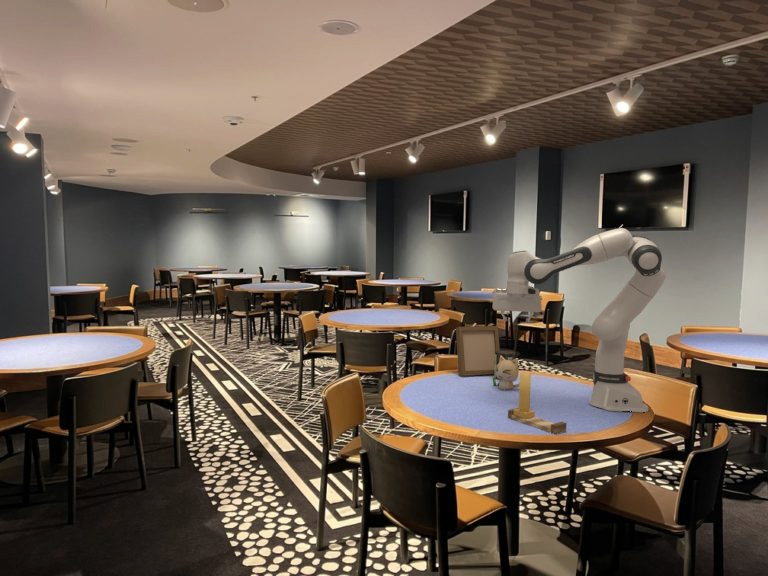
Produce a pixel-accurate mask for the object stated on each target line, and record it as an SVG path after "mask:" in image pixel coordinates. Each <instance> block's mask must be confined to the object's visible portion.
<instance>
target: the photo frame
mask: <svg viewBox="0 0 768 576" xmlns="http://www.w3.org/2000/svg"><path fill="white" fill-rule="evenodd" d="M455 336H456V350H457V365H458V367H457V369H458V376H459V375H460V376H475V375H476V376H479V375H494V368H495V351H497V350H501V349H500V340H499V339H500V338H499V336H500V335H499V326H498V325H484V326H483V325H481V326H480V325H478V326H476V325H475V326H457V327H455Z"/></svg>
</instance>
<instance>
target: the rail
mask: <svg viewBox="0 0 768 576" xmlns="http://www.w3.org/2000/svg"><path fill="white" fill-rule="evenodd" d="M518 408H519V407H516V408H515V407H514V408H512V409H507V419H511V420H514V421H517V422H519V423H521V424H525V425H528V426H530V427H533V428H536V429H540V430H542V431H545V432H548V433H550V432H551V433H550V434H553V433H554V435H558V434H562V433H564V432H565V431H566V432H567V422H564V421H559V422H555V423H554V422H551V421H549V420H546V419H543V418H540V417H536V416H535V417H531V418H527V419H525V418H522V417H519V416H516V415H513V410H514V409H518ZM561 432H562V433H561ZM566 432H565V433H566ZM557 433H558V434H557Z"/></svg>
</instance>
